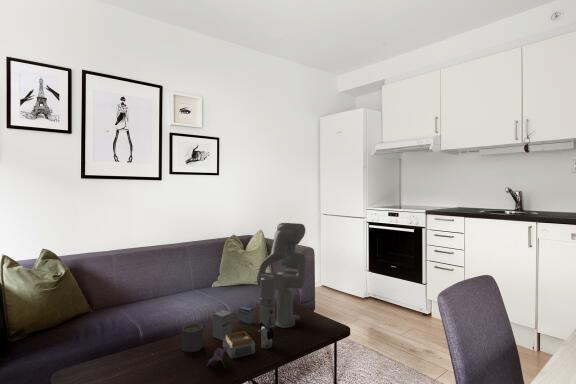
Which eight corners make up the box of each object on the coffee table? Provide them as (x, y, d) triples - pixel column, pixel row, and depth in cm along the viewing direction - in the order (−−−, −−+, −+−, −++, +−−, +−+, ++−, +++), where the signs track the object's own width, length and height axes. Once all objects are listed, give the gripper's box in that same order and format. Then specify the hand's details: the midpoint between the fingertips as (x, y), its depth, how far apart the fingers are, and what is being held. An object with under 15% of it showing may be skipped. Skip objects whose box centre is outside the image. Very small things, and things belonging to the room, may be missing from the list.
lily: (232, 360, 155) (224, 340, 157) (239, 362, 145) (230, 341, 147) (209, 375, 149) (200, 354, 151) (213, 377, 139) (205, 355, 141)
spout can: (269, 342, 171) (269, 323, 171) (273, 347, 166) (273, 327, 166) (255, 345, 168) (256, 326, 168) (260, 350, 163) (260, 330, 163)
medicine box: (238, 322, 197) (238, 307, 197) (242, 319, 201) (242, 305, 201) (249, 325, 193) (249, 310, 193) (253, 322, 197) (253, 308, 197)
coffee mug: (203, 350, 163) (204, 330, 162) (182, 353, 159) (183, 333, 159) (199, 338, 175) (200, 319, 175) (180, 341, 171) (180, 322, 171)
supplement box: (221, 340, 173) (221, 316, 173) (212, 336, 177) (212, 313, 177) (232, 335, 179) (232, 312, 179) (222, 332, 183) (223, 309, 183)
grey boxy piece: (244, 341, 173) (245, 328, 173) (255, 353, 160) (255, 340, 160) (222, 345, 167) (222, 333, 167) (231, 359, 154) (231, 345, 154)
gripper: (281, 305, 161) (280, 340, 161) (266, 295, 176) (266, 327, 176) (267, 307, 158) (266, 343, 157) (253, 297, 173) (253, 330, 173)
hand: (266, 335), depth 167 cm, fingers open, 9 cm apart
